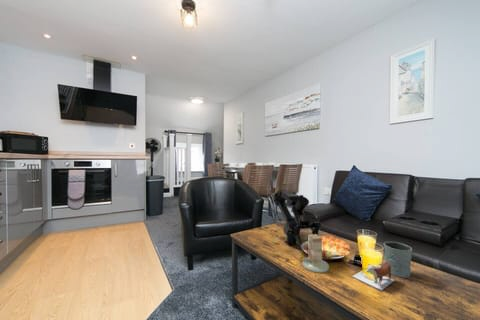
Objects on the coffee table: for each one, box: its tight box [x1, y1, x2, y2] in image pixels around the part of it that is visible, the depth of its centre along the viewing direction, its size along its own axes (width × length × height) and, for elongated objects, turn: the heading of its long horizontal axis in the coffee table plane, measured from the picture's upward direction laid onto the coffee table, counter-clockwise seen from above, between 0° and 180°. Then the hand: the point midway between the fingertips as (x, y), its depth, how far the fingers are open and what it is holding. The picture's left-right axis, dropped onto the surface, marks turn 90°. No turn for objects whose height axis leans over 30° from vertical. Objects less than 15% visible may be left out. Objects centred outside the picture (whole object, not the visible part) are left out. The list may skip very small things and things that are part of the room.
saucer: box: [301, 257, 330, 274], centre depth 93 cm, size 12×12×1 cm
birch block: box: [307, 234, 323, 266], centre depth 93 cm, size 4×4×13 cm
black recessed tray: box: [347, 253, 363, 269], centre depth 95 cm, size 12×7×5 cm, turn 48°
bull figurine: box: [365, 261, 392, 287], centre depth 80 cm, size 4×13×8 cm, turn 113°
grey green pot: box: [383, 241, 413, 279], centre depth 88 cm, size 10×10×12 cm
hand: (309, 243), depth 98 cm, fingers open, 9 cm apart
